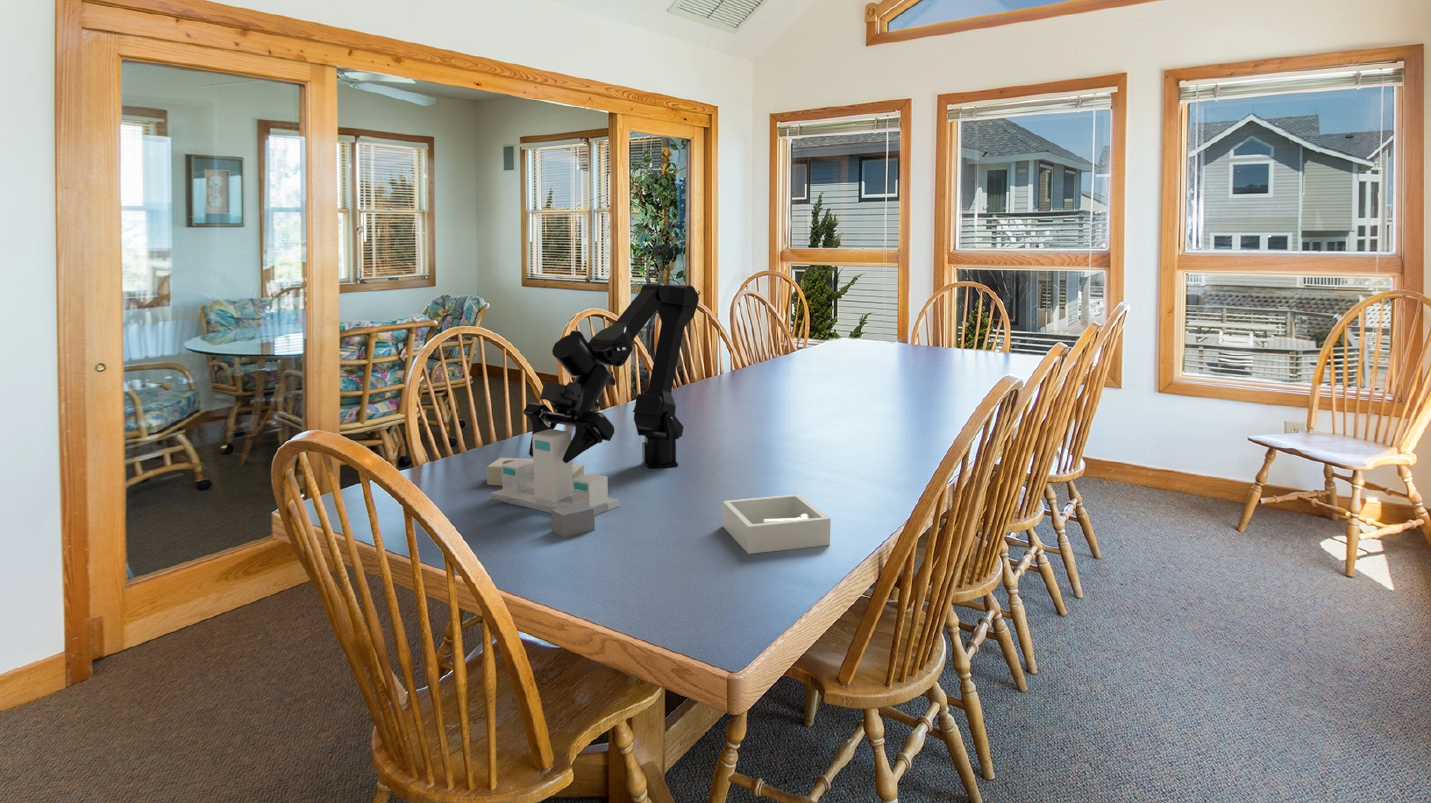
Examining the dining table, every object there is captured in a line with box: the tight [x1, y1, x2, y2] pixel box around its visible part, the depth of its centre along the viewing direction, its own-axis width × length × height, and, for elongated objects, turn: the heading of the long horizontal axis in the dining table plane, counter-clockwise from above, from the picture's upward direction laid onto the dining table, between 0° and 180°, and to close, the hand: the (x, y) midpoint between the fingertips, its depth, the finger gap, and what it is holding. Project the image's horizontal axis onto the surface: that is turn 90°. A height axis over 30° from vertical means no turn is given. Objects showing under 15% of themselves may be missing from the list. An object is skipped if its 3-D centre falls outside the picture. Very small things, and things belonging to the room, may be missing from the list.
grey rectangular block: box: [550, 503, 596, 538], centre depth 155 cm, size 6×4×4 cm, turn 129°
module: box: [531, 428, 573, 502], centre depth 169 cm, size 5×5×12 cm
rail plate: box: [490, 458, 620, 516], centre depth 170 cm, size 10×23×6 cm, turn 56°
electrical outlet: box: [486, 457, 585, 486], centre depth 184 cm, size 7×4×18 cm
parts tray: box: [722, 493, 832, 555], centre depth 153 cm, size 14×14×4 cm
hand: (547, 458), depth 168 cm, fingers open, 8 cm apart
